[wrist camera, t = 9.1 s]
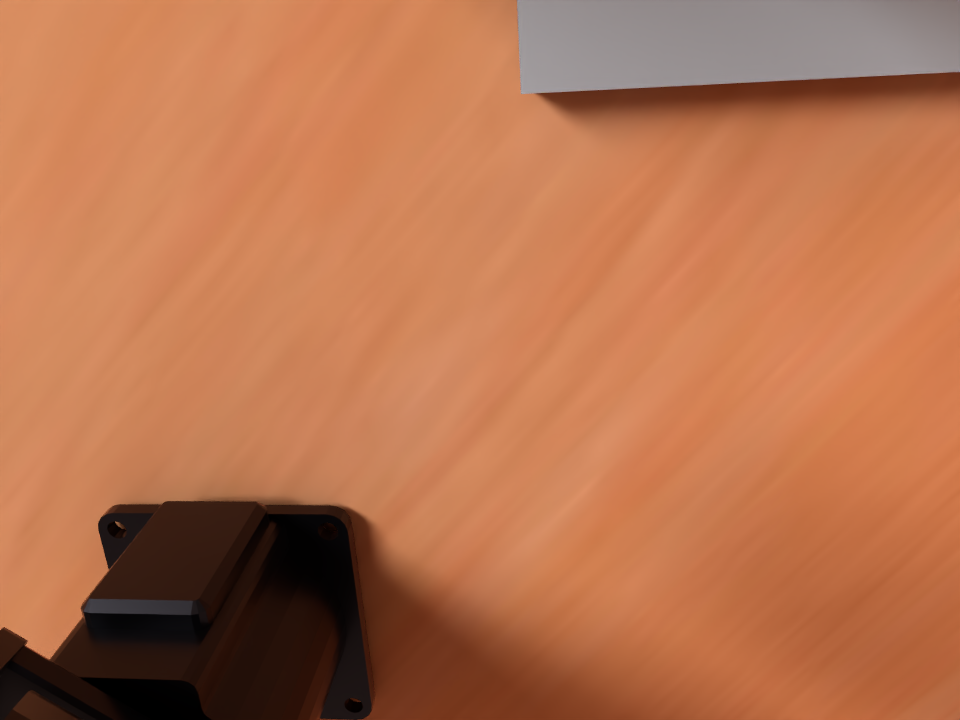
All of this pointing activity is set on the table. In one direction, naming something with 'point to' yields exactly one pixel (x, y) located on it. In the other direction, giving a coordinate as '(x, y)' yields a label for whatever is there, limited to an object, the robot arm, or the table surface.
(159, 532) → the robot arm
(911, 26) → the plate
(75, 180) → the table surface
